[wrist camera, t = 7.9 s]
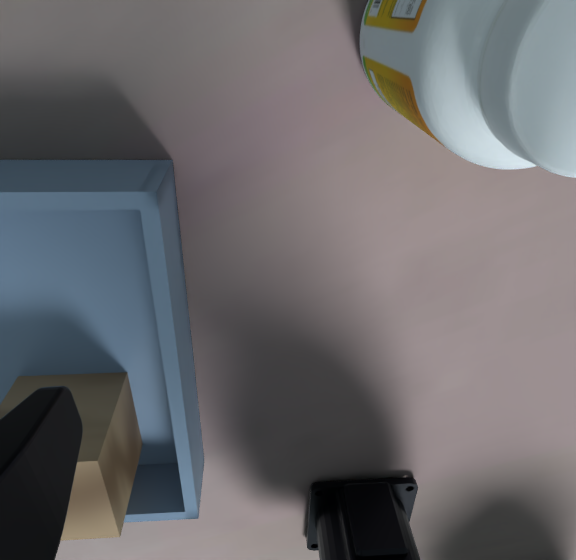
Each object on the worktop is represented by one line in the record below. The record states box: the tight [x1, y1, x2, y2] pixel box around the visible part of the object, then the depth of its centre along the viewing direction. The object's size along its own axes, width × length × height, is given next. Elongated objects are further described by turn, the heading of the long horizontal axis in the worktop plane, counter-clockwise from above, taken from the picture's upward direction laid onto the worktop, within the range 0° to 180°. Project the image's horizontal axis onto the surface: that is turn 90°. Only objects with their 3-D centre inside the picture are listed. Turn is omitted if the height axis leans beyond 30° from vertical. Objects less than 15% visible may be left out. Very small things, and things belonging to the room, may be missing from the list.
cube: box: [0, 372, 143, 541], centre depth 21 cm, size 5×5×5 cm
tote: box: [0, 160, 204, 522], centre depth 20 cm, size 17×13×4 cm
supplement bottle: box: [360, 0, 576, 178], centre depth 12 cm, size 5×5×10 cm
